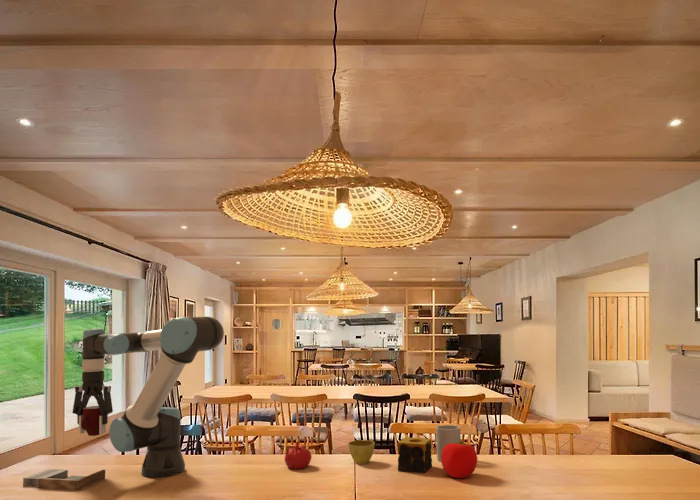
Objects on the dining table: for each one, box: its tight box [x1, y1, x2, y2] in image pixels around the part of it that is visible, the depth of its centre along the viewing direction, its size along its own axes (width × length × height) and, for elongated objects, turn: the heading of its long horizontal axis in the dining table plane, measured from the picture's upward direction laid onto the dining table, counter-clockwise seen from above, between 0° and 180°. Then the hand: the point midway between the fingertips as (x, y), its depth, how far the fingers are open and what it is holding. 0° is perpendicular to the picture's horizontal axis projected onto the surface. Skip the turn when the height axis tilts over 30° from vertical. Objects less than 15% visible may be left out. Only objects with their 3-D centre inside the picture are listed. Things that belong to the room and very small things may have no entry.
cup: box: [435, 424, 462, 463], centre depth 226 cm, size 9×9×12 cm
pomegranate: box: [284, 441, 313, 470], centre depth 220 cm, size 10×10×9 cm
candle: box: [397, 436, 433, 474], centre depth 214 cm, size 10×10×10 cm
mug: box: [81, 405, 101, 437], centre depth 219 cm, size 11×8×10 cm
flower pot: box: [347, 439, 376, 465], centre depth 224 cm, size 10×10×7 cm
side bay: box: [22, 468, 106, 491], centre depth 206 cm, size 23×14×3 cm, turn 76°
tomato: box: [441, 440, 478, 479], centre depth 203 cm, size 12×14×11 cm
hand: (92, 433), depth 218 cm, fingers closed on mug, 8 cm apart
